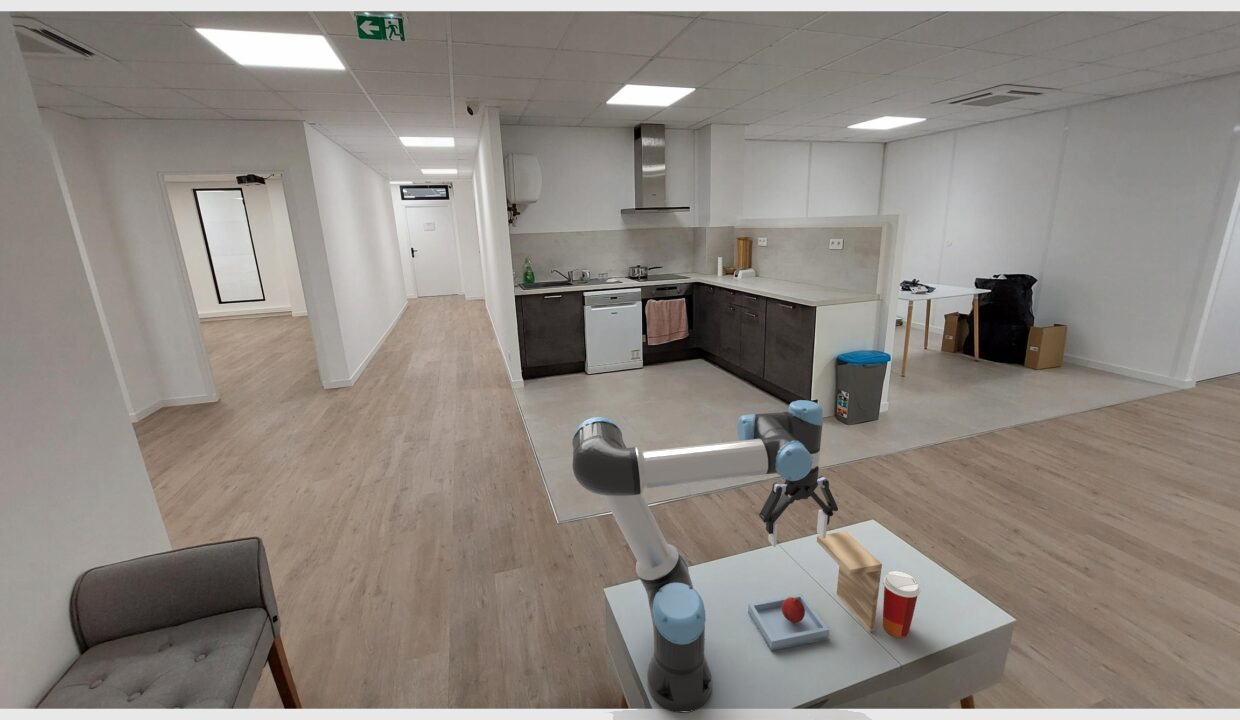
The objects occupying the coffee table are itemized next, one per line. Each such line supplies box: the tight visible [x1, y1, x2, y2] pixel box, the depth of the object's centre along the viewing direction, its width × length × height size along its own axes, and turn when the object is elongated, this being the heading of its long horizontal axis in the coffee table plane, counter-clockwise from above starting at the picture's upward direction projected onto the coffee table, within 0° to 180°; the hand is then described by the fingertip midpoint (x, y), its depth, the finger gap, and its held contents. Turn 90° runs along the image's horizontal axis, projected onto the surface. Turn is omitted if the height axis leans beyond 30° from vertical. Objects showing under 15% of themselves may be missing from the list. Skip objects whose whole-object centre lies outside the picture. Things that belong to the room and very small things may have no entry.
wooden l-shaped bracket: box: [816, 530, 883, 633], centre depth 130 cm, size 9×14×21 cm, turn 11°
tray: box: [747, 593, 830, 652], centre depth 129 cm, size 16×13×3 cm
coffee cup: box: [882, 570, 921, 639], centre depth 125 cm, size 8×8×15 cm
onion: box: [782, 597, 805, 623], centre depth 129 cm, size 6×6×8 cm
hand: (796, 539), depth 123 cm, fingers open, 13 cm apart
